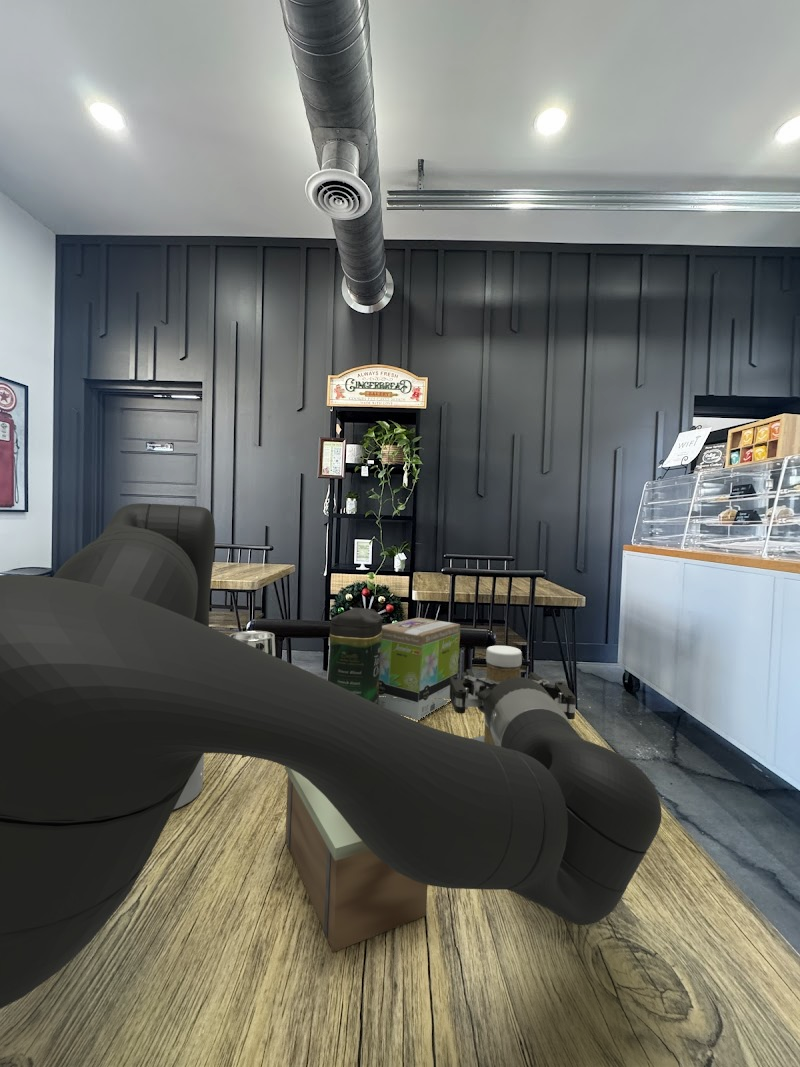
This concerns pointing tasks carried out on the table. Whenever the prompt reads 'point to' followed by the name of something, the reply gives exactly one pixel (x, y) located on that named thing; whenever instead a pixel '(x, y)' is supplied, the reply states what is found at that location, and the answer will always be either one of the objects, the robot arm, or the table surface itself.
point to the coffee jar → (356, 652)
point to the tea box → (417, 665)
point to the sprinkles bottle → (501, 670)
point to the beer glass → (257, 640)
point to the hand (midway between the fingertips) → (500, 678)
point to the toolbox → (345, 871)
